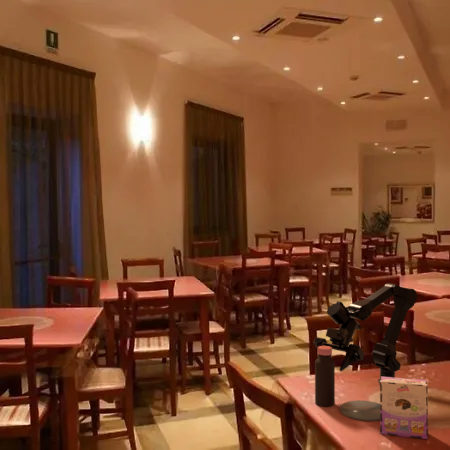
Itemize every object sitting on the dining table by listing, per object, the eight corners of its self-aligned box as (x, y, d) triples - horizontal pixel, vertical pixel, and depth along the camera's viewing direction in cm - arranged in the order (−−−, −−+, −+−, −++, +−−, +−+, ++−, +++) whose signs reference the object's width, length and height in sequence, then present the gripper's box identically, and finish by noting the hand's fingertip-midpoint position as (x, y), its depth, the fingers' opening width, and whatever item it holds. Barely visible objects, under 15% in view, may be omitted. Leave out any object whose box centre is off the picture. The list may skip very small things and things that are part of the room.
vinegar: (323, 408, 184) (323, 350, 184) (311, 402, 190) (311, 346, 190) (338, 405, 188) (338, 348, 187) (326, 399, 194) (326, 344, 193)
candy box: (427, 432, 164) (427, 379, 164) (428, 440, 159) (428, 385, 158) (380, 426, 169) (380, 375, 168) (379, 434, 163) (379, 380, 163)
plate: (339, 402, 190) (339, 399, 190) (385, 404, 188) (385, 401, 188) (341, 419, 174) (341, 416, 174) (392, 422, 172) (392, 419, 172)
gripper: (316, 315, 201) (298, 350, 193) (360, 322, 188) (343, 360, 180) (327, 333, 207) (311, 367, 199) (371, 341, 194) (355, 378, 186)
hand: (329, 367), depth 191 cm, fingers open, 9 cm apart
